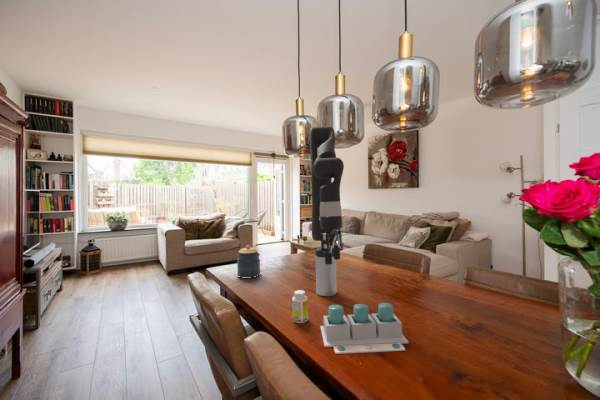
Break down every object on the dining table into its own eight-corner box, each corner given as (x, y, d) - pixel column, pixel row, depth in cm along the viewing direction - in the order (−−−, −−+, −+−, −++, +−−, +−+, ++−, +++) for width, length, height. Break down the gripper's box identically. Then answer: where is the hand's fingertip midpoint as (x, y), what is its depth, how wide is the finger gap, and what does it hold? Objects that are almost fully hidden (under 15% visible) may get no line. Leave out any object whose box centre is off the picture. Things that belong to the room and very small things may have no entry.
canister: (233, 278, 150) (232, 246, 150) (244, 271, 162) (243, 242, 162) (254, 279, 146) (253, 247, 146) (264, 273, 158) (263, 243, 158)
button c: (376, 321, 88) (376, 303, 88) (390, 320, 89) (390, 302, 88) (381, 328, 84) (381, 308, 84) (396, 327, 84) (395, 308, 84)
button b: (352, 322, 88) (351, 304, 88) (366, 321, 88) (365, 303, 88) (355, 329, 84) (355, 310, 83) (370, 328, 84) (370, 309, 84)
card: (333, 347, 79) (333, 345, 79) (400, 344, 80) (400, 342, 80) (335, 353, 76) (335, 351, 76) (405, 350, 77) (405, 348, 77)
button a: (328, 323, 88) (327, 305, 88) (342, 322, 88) (341, 304, 88) (330, 330, 83) (329, 311, 83) (344, 329, 83) (344, 310, 83)
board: (320, 327, 91) (319, 312, 91) (393, 324, 92) (392, 309, 92) (324, 347, 79) (324, 330, 79) (408, 343, 80) (408, 326, 80)
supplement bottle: (307, 316, 100) (306, 288, 100) (309, 323, 95) (308, 294, 95) (292, 317, 100) (291, 289, 100) (293, 324, 94) (292, 295, 94)
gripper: (328, 214, 102) (330, 257, 102) (312, 216, 90) (314, 265, 89) (347, 213, 99) (349, 258, 98) (334, 215, 86) (336, 266, 86)
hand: (333, 261), depth 94 cm, fingers open, 8 cm apart
